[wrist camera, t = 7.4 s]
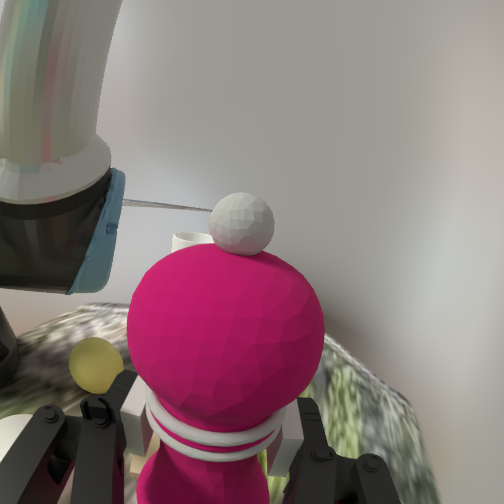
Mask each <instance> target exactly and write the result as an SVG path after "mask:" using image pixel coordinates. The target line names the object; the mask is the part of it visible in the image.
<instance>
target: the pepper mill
mask: <svg viewBox="0 0 504 504" xmlns="http://www.w3.org/2000/svg"><path fill="white" fill-rule="evenodd" d="M209 229H210V234H211V236H212V239H213V241H214V243H208V244H198V245H194V246H190V247H186V248H183V249H180V250H177V251H175V252H173V253H171V254H169V255H167V256H166V257H165V258H163V259H161V260H159V261H158V262H157V263H156V264H155V265H153V266H152V267H151V268H150V269H149V270H148V271H147V272H146V273H145V275H144V276H143V278H142V280H141V282H140V283H139V285H138V287H137V288H136V290H135V292H134V294H133V296H132V300H131V304H130V308H129V312H128V316H127V340H128V348H129V352H130V356H131V360H132V362H133V365H134V367H135V369H136V371H137V373H138V375H139V376H140V377H141V378H142V380H143V381H144V382H145V398H146V415H147V418H148V421H149V424H150V426H151V428H152V429H153V430H154V432H155V433H156V435H157V436H158V437H159V438H160V447H159V449H158V450H157V451H156V452H155V453H154V454H153V455H152V456H151V457H150V458H149V459H148V460H147V462H146V463H145V465H144V466H143V468H142V471H141V473H140V475H139V478H138V480H137V487H136V493H137V502H138V504H269V490H268V484H267V480H266V477H265V475H264V473H263V471H262V468H261V466H260V464H259V462H258V460H257V454H258V453H260V452H261V451H263V450H264V449H266V448H267V447H268V446H269V445H270V444H271V443H272V442H273V441H274V440H275V438H276V437H277V435H278V433H279V431H280V428H281V422H282V420H283V419H284V416H285V414H286V411H287V405H288V404H290V403H291V402H293V401H294V400H295V399H296V398H297V397H298V396H299V395H300V394H301V393H302V392H303V391H304V390H305V389H306V387H307V386H308V385H309V383H310V381H311V380H312V378H313V376H314V374H315V372H316V371H317V368H318V365H319V362H320V358H321V355H322V351H323V344H324V334H325V330H324V318H323V313H322V309H321V306H320V303H319V301H318V298H317V296H316V294H315V291H314V289H313V288H312V287H311V285H310V284H309V283H308V281H307V280H306V279H305V277H304V276H303V275H302V274H301V273H300V272H298V271H297V270H296V269H295V268H294V267H292V266H291V265H289V264H288V263H286V262H285V261H283V260H281V259H280V258H278V257H277V256H275V255H272V254H270V253H267V252H265V251H262V250H263V249H264V248H265V247H266V246H267V245H268V244H269V242H270V241H271V239H272V236H273V233H274V218H273V214H272V211H271V210H270V208H269V206H268V205H267V204H266V203H265V202H264V201H263V200H262V199H261V198H260V197H257V196H256V195H253V194H249V193H234V194H231V195H228V196H227V197H225V198H223V199H222V200H221V201H220V202H219V203H218V204H216V206H215V208H214V209H213V211H212V214H211V217H210V222H209Z"/></svg>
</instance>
